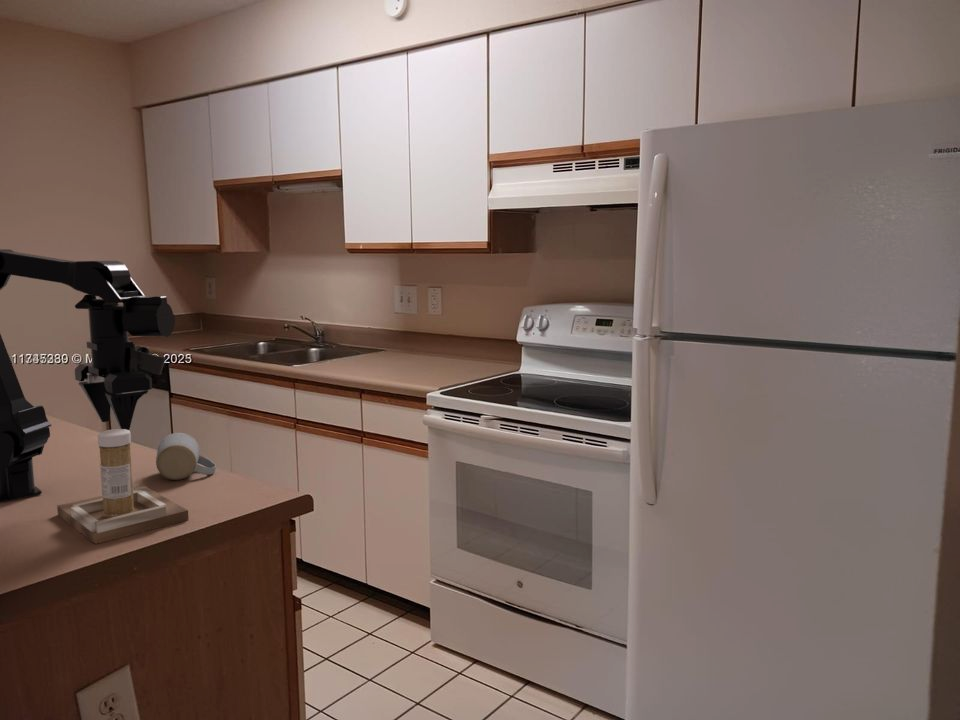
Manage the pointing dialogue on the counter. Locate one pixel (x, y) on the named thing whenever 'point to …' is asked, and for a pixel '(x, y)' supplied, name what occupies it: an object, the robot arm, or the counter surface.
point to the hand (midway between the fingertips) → (115, 426)
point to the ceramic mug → (181, 457)
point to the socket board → (122, 516)
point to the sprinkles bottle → (116, 472)
